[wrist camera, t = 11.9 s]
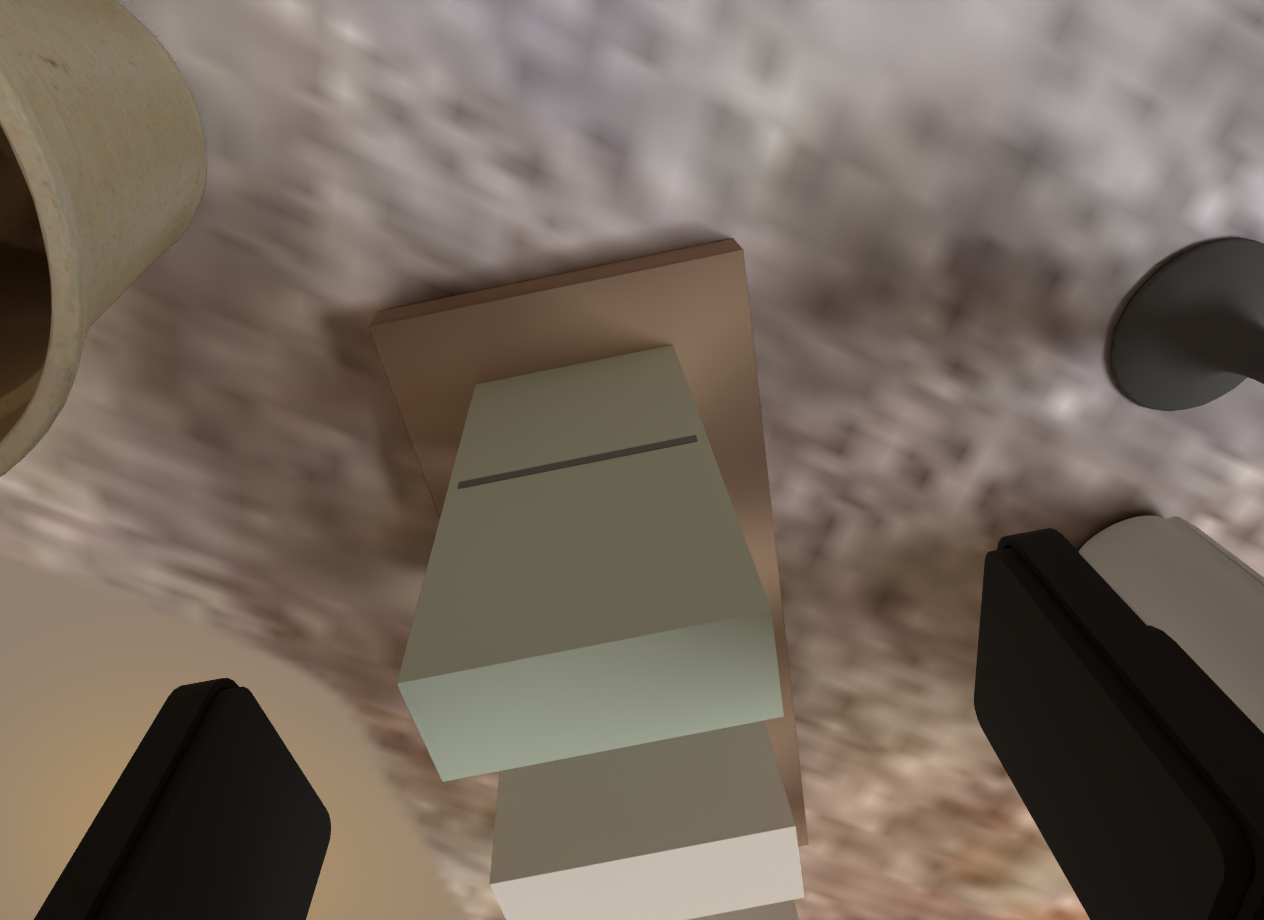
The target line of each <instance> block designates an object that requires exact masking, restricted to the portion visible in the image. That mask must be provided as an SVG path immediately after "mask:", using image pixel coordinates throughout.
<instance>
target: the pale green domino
mask: <svg viewBox="0 0 1264 920" xmlns="http://www.w3.org/2000/svg"><path fill="white" fill-rule="evenodd" d="M397 686H398V688H399V690H400V692H401V694H402V696H403V698H404V701H405V703H406V705H407V707H408V709H409V711H410V713H411V716H412V718H413V720H414V722H415V724H416V726H417V728H418V730H419V733H420V735H421V737H422V739H423V741H424V743H425V745H426V748H427V750H428V752H429V754H430V756H431V758H432V760H433V763H434V765H435V767H436V769H437V771H438V773H439V775H440V777H441V780H442V782H445V781H451V780H456V779H461V778H466V777H471V776H477V775H482V774H487V773H492V772H498V771H503V770H508V769H513V768H518V767H524V766H529V765H534V764H539V763H544V762H550V761H555V760H560V759H565V758H570V757H576V756H581V755H586V754H591V753H597V752H602V751H607V750H612V749H617V748H623V747H628V746H633V745H638V744H643V743H649V742H654V741H659V740H664V739H670V738H675V737H680V736H685V735H690V734H696V733H701V732H706V731H711V730H716V729H722V728H727V727H732V726H737V725H743V724H748V723H753V722H758V721H763V720H769V719H774V718H779V717H784V714H783V705H782V696H781V688H780V679H779V671H778V662H777V653H776V645H775V636H774V628H773V619H772V611H771V608H770V605H769V603H768V600H767V597H766V594H765V592H764V589H763V586H762V584H761V581H760V578H759V575H758V573H757V570H756V567H755V565H754V562H753V559H752V556H751V554H750V551H749V548H748V546H747V543H746V540H745V538H744V535H743V532H742V529H741V527H740V524H739V521H738V519H737V516H736V513H735V510H734V508H733V505H732V502H731V500H730V497H729V494H728V492H727V489H726V486H725V483H724V481H723V478H722V475H721V473H720V470H719V467H718V464H717V462H716V459H715V456H714V454H713V451H712V448H711V446H710V443H709V440H708V437H707V435H706V432H705V429H704V427H703V424H702V421H701V418H700V416H699V413H698V410H697V408H696V405H695V402H694V400H693V397H692V394H691V391H690V389H689V386H688V383H687V381H686V378H685V375H684V372H683V370H682V367H681V364H680V362H679V359H678V356H677V354H676V351H675V348H674V345H670V346H665V347H660V348H655V349H650V350H645V351H640V352H635V353H630V354H625V355H620V356H615V357H610V358H605V359H600V360H595V361H590V362H585V363H580V364H575V365H570V366H565V367H560V368H555V369H550V370H545V371H540V372H535V373H531V374H526V375H521V376H516V377H511V378H506V379H501V380H496V381H491V382H486V383H481V384H476V385H475V388H474V392H473V396H472V399H471V403H470V407H469V411H468V415H467V418H466V422H465V426H464V430H463V434H462V437H461V441H460V445H459V449H458V452H457V456H456V460H455V464H454V468H453V471H452V475H451V479H450V483H449V487H448V490H447V494H446V498H445V502H444V506H443V509H442V513H441V517H440V521H439V525H438V528H437V532H436V536H435V540H434V544H433V547H432V551H431V555H430V559H429V563H428V566H427V570H426V574H425V578H424V581H423V585H422V589H421V593H420V597H419V600H418V604H417V608H416V612H415V616H414V619H413V623H412V627H411V631H410V635H409V638H408V642H407V646H406V650H405V654H404V657H403V661H402V665H401V669H400V673H399V676H398V680H397Z"/></svg>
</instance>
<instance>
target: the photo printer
mask: <svg viewBox="0 0 1264 920" xmlns="http://www.w3.org/2000/svg"><path fill="white" fill-rule="evenodd" d="M1079 553H1080V554H1081V555H1082V557H1083V558H1084V559H1085V560H1086V561H1087V562H1088V563H1089V564H1090V565H1091V566H1092V567H1093V568H1094V569H1095V570H1096V571H1097V573H1098V574H1099V575H1100V576H1101V577H1102V578H1103V579H1104V580H1105V581H1106V582H1107V583H1108V584H1109V585H1110V586H1111V587H1112V589H1113V590H1114V591H1115V592H1116V593H1117V594H1118V595H1119V596H1120V597H1121V598H1122V599H1123V600H1124V601H1125V602H1126V603H1127V605H1128V606H1129V607H1130V608H1131V609H1132V610H1133V611H1134V612H1135V613H1136V614H1137V615H1138V616H1139V617H1140V618H1141V619H1142V621H1143V622H1144V623H1145V624H1146V625H1151V626H1153V627H1156V628H1158V629H1160V630H1162V631H1164V632H1165V633H1166V634H1167V635H1168V636H1170V637H1171V638H1172V639H1173V640H1174V641H1175V642H1176V643H1177V644H1178V645H1179V646H1180V647H1181V648H1182V649H1183V650H1184V651H1185V652H1186V653H1187V654H1188V655H1189V656H1190V657H1191V658H1192V659H1193V660H1194V661H1195V662H1196V663H1197V664H1198V666H1199V667H1200V668H1201V669H1202V670H1203V671H1204V672H1205V673H1206V674H1207V675H1208V676H1209V677H1210V678H1211V679H1212V680H1213V681H1214V682H1215V683H1216V684H1217V685H1218V686H1219V687H1220V688H1221V690H1222V691H1223V692H1224V693H1225V694H1226V695H1227V696H1228V697H1229V698H1230V699H1231V700H1232V701H1233V702H1234V703H1235V704H1236V705H1237V706H1238V707H1239V708H1240V709H1241V710H1242V711H1243V712H1244V714H1245V715H1246V716H1247V717H1248V718H1249V719H1250V720H1251V721H1252V722H1253V723H1254V724H1255V725H1256V726H1257V727H1258V728H1259V729H1260V730H1261V731H1262V732H1263V733H1264V577H1262V576H1261V575H1260V574H1258V573H1257V572H1256V571H1254V570H1253V569H1252V568H1250V567H1249V566H1248V565H1247V564H1245V563H1244V562H1243V561H1241V560H1240V559H1239V558H1237V557H1236V556H1235V555H1233V554H1232V553H1231V552H1229V551H1228V550H1227V549H1225V548H1224V547H1223V546H1221V545H1220V544H1219V543H1217V542H1216V541H1215V540H1213V539H1212V538H1211V537H1209V536H1208V535H1207V534H1205V533H1204V532H1203V531H1201V530H1200V529H1199V528H1197V527H1196V526H1194V525H1193V524H1191V523H1189V522H1188V521H1186V520H1184V519H1182V518H1180V517H1177V516H1173V517H1171V518H1168V519H1163V518H1161V517H1158V516H1138V517H1134V518H1130V519H1127V520H1123V521H1121V522H1118V523H1116V524H1114V525H1112V526H1109V527H1107V528H1106V529H1104V530H1102V531H1101V532H1099V533H1097V534H1096V535H1095V536H1093V537H1092V538H1091V539H1090V540H1088V541H1087V542H1086V543H1085V544H1084V545H1083V546H1082V547H1081V548H1080V550H1079Z"/></svg>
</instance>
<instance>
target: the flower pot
mask: <svg viewBox="0 0 1264 920" xmlns="http://www.w3.org/2000/svg"><path fill="white" fill-rule="evenodd" d="M206 173H207V162H206V146H205V137H204V132H203V127H202V123H201V119H200V116H199V113H198V110H197V107H196V104H195V102H194V99H193V97H192V95H191V92H190V90H189V88H188V86H187V84H186V82H185V80H184V78H183V76H182V74H181V73H180V71H179V69H178V67H177V66H176V64H175V62H174V61H173V59H172V57H171V56H170V54H169V53H168V52H167V50H166V49H165V48H164V46H163V45H162V44H161V42H160V41H159V40H158V39H157V37H156V36H155V35H154V34H153V33H152V32H151V31H150V30H149V29H148V28H147V27H146V26H145V25H144V24H142V23H141V22H140V21H139V20H138V19H137V18H136V17H135V16H134V15H133V14H131V13H130V12H129V11H128V10H127V9H126V8H125V7H124V6H123V5H121V4H120V3H119V2H118V1H117V0H0V476H2V475H4V474H5V473H7V472H8V471H9V470H10V469H11V468H12V467H13V466H15V465H16V464H17V463H18V462H19V461H21V460H22V459H23V458H24V457H25V456H26V455H27V454H28V453H29V452H30V451H31V450H32V449H33V448H34V446H35V445H36V444H37V443H38V442H39V441H40V440H41V439H42V438H43V436H44V435H45V434H46V433H47V431H48V430H49V428H50V427H51V425H52V424H53V422H54V421H55V419H56V417H57V416H58V414H59V412H60V411H61V409H62V408H63V406H64V404H65V402H66V400H67V397H68V395H69V392H70V390H71V388H72V385H73V383H74V380H75V376H76V373H77V369H78V366H79V362H80V357H81V353H82V349H83V344H84V340H85V337H86V334H87V332H88V330H89V327H90V326H91V325H92V324H93V323H94V322H95V321H96V320H97V319H98V318H99V317H100V316H101V315H102V314H103V313H104V312H105V311H106V310H107V309H108V308H109V307H110V306H111V305H112V303H113V302H114V301H115V300H116V299H117V298H118V297H119V296H120V295H121V294H122V293H123V292H124V291H125V290H126V289H127V288H128V287H129V286H130V285H131V284H132V283H133V282H134V281H135V280H136V279H137V278H138V277H139V276H140V275H141V274H142V273H143V272H144V271H145V270H146V269H147V268H148V267H149V266H150V265H151V264H152V263H153V262H154V261H155V260H156V259H157V258H158V257H159V256H160V255H161V254H162V253H164V252H165V251H166V250H168V249H169V248H170V247H171V246H172V245H173V244H174V243H175V242H176V241H177V240H178V239H179V238H180V237H181V235H182V234H183V233H184V232H185V231H186V229H187V228H188V226H189V224H190V222H191V220H192V219H193V217H194V214H195V212H196V210H197V208H198V205H199V203H200V200H201V198H202V195H203V191H204V188H205V182H206Z"/></svg>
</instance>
